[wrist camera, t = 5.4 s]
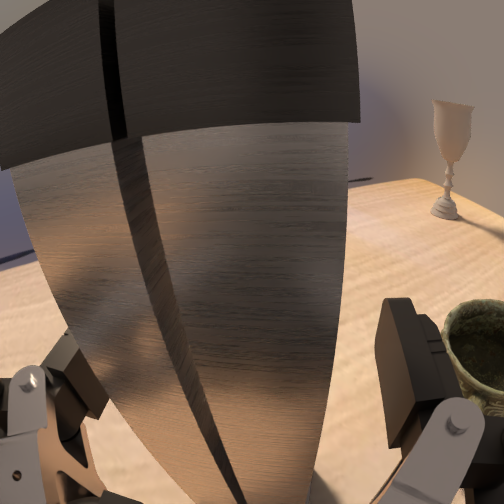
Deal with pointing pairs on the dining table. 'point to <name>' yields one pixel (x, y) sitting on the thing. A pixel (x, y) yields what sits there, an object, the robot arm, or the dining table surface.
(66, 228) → the split metal pillar
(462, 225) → the dining table surface
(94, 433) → the dining table surface
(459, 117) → the chalice
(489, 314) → the vessel
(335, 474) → the dining table surface
